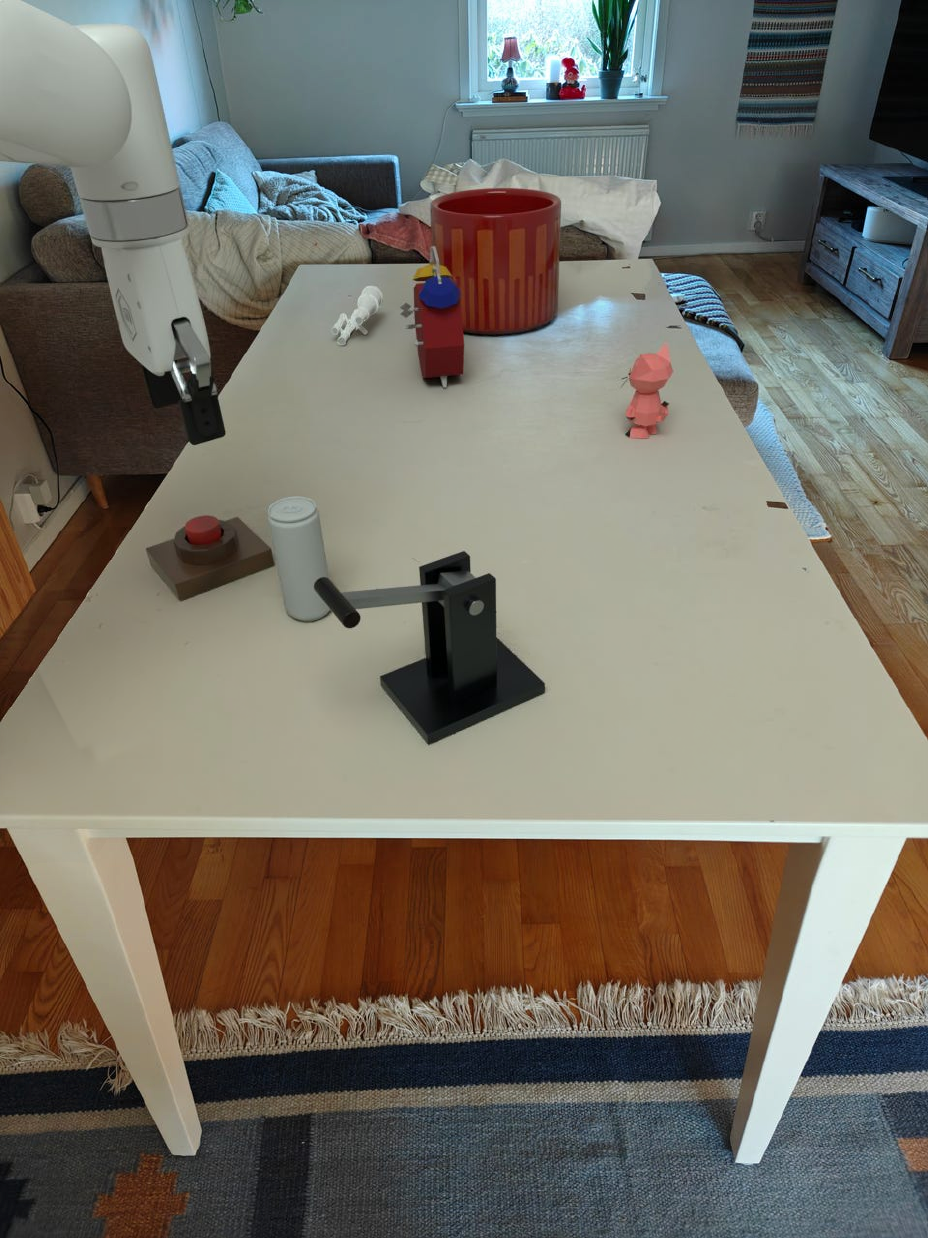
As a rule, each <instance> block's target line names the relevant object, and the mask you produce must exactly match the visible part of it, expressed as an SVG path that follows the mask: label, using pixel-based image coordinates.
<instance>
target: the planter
mask: <svg viewBox="0 0 928 1238" xmlns="http://www.w3.org/2000/svg"><path fill="white" fill-rule="evenodd" d="M429 214H430V234H431V235H430V238H431V239H430V241H431V247H433V246H435V247H436V251H437V255H438V259H439V265H442V266H445V267H446V268H447V269H448V271H449V272H450V274H451V275H452V276H453V277H451V278H450V279H451V281H455V282H456V286H457V288H458V289H459V290H460V292H461V294H460V296H459V299H460V304H461V312H462V324H463V333H467V334H471V335H478V336H479V335H481V336H506V335H514V334H522V333H527V332H529V331H534V330H536V329H539V328H541V327H542V326H545V325H547V324H549V323H550V322H551V321H552V320H553V319H554V318H555V317H556V316H557V314H558V309H559V288H560V287H559V285H560V260H561V259H560V257H561V256H560V255H561V254H560V253H561V227H562V226H561V225H562V224H561V222H562V200H561V198H560V197H559V196H557V195H556V194H553V193H551V192H548V191H543V190H538V189H531V188H521V187H520V188H517V187H488V188H475V189H467V190H459V191H455V192H450V193H446V194H443V195H440V196H437V197H436V198H434V199H432V201H431V202H430V203H429ZM433 264H435V265H436V258H435V254H434V250H433Z"/></svg>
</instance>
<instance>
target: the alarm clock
mask: <svg viewBox="0 0 928 1238" xmlns="http://www.w3.org/2000/svg"><path fill="white" fill-rule="evenodd" d="M433 250H434V254H435V258H436V265H435V264H433ZM429 254H430V256H429V257H430V259H429V264H427V265H425V266H422V267H419V268H417V269H416V271H415V273H414V274H413V275H414V276H413V277H412V281H415V282H416V284H415V285H414V287H413V305H410V304H409V303H408V302H405V303H404V304H403V305H401V306H400V307H399V308H400V309H401V310H403V311H402V312H401V313H400V316H402V317H404V318H405V319H407V318H408V317H409V316H411V315H412V314H414V315H413V317H414V318H413V319H414V323H412V324H411V323H410V324H408V325H406V329H408V330H412V329H415V338H416V340H415V341H414V343H413V345H414V346H415V347H416V348H417V349H416V350H417V356H418V361H419V366H420V373H421V378H422V379H431V378H439V379H440V381H441V385H442V388H443V389H446V388H447V386H448V385H447V383H448V377H454V376H460V375H461V376H462V375H464V363H465V336H464V332H463V324H462V312H461V304H460V299H459V296H460V294H461V292H460V290H459V289H458V288H457V286H456V282H455V281H451V279H450V278H451V277H453V276H452V275H451V274H450V272H449V271H448V269H447V268H446V267H445V266H442V265H439V259H438V255H437V251H436V247H435V246H433V247H432V246H431V247H430V248H429ZM417 282H418V283H417Z"/></svg>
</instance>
